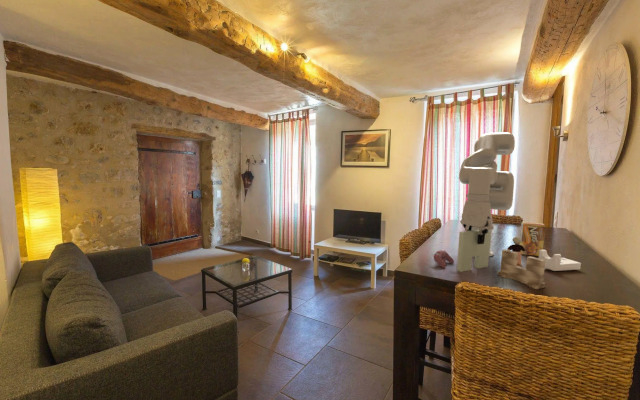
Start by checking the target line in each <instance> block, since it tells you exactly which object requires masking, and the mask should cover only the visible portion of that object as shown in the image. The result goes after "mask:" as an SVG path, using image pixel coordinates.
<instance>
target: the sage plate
mask: <svg viewBox="0 0 640 400" xmlns="http://www.w3.org/2000/svg"><path fill="white" fill-rule="evenodd" d="M482 230H483V229H482ZM458 234H459V237H458V251H457V262H456V263H457V264H456V271H458V272H461V273H462V272H466V271H467V272H468V271H471V270H472V263H473V257H474V266H473V268H475V269H482V268H488V266H489V257H490V256H489V248H490V249H491V245H490V236H491V237H492V234H491V231H489V232H488V233H487V234H485V241H484V244H477V239H478V234H479V230H472V231H465V230H463V231H459V233H458Z"/></svg>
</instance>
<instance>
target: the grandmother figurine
mask: <svg viewBox="0 0 640 400" xmlns="http://www.w3.org/2000/svg"><path fill="white" fill-rule="evenodd" d="M511 241H512V242H513V244H511V245H509V246H508V247H507V249H506V250H510V251H513V252H517V253H518V260H517V266H520V267H522V254H521V250H522V251H523V252H524V254H523V255H526V254H527V253H526V250H525V249H524V247H523V246H522V245H519V244H520V243H521V242H522V239H521V237H520V236H517V235H516V236H513V238H512V240H511Z"/></svg>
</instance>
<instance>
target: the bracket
mask: <svg viewBox="0 0 640 400" xmlns="http://www.w3.org/2000/svg"><path fill="white" fill-rule="evenodd" d="M538 258H539V259H542V260H545V269H544V270H550V271H552V272H553V271H554V272H557V271H561V272H562V271H572V270H581V265H582V262H579V261H576V260H573V259H568V258H565V257H562V254H560V253H556V254H555V253H554V254H553V256H552V257H551V256H549V255H548V251H547V250H546V249H543V250H539V256H538Z"/></svg>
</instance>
